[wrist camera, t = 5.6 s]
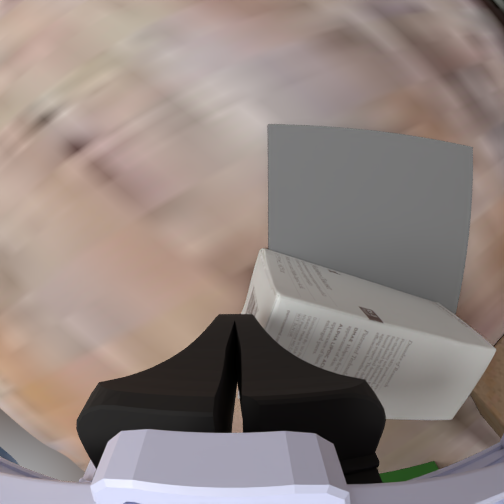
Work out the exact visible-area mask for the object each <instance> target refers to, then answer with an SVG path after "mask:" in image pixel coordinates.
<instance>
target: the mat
mask: <svg viewBox="0 0 504 504" xmlns="http://www.w3.org/2000/svg"><path fill="white" fill-rule="evenodd" d="M472 181H473V147H469V146H465V145H460V144H455V143H450V142H445V141H440V140H434V139H429V138H423V137H416V136H410V135H403V134H396V133H389V132H381V131H372V130H363V129H352V128H341V127H327V126H310V125H285V124H268V249H269V250H272V251H275V252H278V253H281V254H285V255H288V256H291V257H294V258H297V259H300V260H304V261H306V262H310V263H313V264H316V265H319V266H322V267H326V268H329V269H332V270H335V271H338V272H342V273H345V274H348V275H352V276H355V277H358V278H361V279H364V280H367V281H370V282H374V283H377V284H380V285H383V286H386V287H389V288H392V289H395V290H398V291H401V292H405V293H408V294H411V295H414V296H417V297H420V298H423V299H427V300H430V301H433V302H438V303H440V304H441V305H442V306H444V307H445V308H446V309H448V310H449V311H451V312H452V313H453V314H456V309H457V305H458V300H459V295H460V290H461V285H462V279H463V273H464V267H465V261H466V254H467V246H468V238H469V228H470V217H471V203H472Z"/></svg>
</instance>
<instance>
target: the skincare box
mask: <svg viewBox="0 0 504 504" xmlns="http://www.w3.org/2000/svg"><path fill="white" fill-rule="evenodd" d="M241 314H253V315H254V316H255V318H256V319H257V321H258V322H259V323H260V325H261V326H262V327H263V328H264V330H265V331H266V332H267V333H268V334H269V335H270V336H271V337H272V338H273V339H274V340H275V341H276V342H277V343H278V344H279V345H281V346H282V347H283V348H285V349H286V350H287V351H289V352H290V353H292V354H293V355H295V356H297V357H298V358H300V359H302V360H304V361H306V362H308V363H310V364H312V365H314V366H317V367H319V368H322V369H324V370H327V371H331V372H334V373H337V374H340V375H345V376H350V377H355V378H360V379H365V380H366V381H367V383H368V384H369V385H370V387H371V388H372V389H373V391H374V392H375V394H376V395H377V397H378V399H379V400H380V402H381V404H382V406H383V407H384V410H385V415H386V419H400V420H452V419H453V417H454V416H455V414H456V413H457V411H458V410H459V409H460V407H461V406H462V405H463V403H464V402H465V401H466V399H467V398H468V396H469V395H470V393H471V392H472V390H473V389H474V387H475V386H476V384H477V382H478V381H479V379H480V378H481V376H482V375H483V373H484V371H485V370H486V368H487V366H488V365H489V363H490V361H491V359H492V358H493V356H494V354H495V352H496V348H495V347H493V346H492V345H491V344H490V343H489V342H488V341H487V340H486V339H484V338H483V337H482V336H481V335H480V334H478V333H477V332H476V331H475V330H474V329H472V328H471V327H470V326H469V325H467V324H466V323H465V322H464V321H462V320H461V319H460V318H459V317H457V316H456V315H455V314H453V313H452V312H451V311H449V310H448V309H446V308H445V307H444V306H442V305H441V304H440V303H438V302H433V301H430V300H427V299H423V298H420V297H417V296H414V295H411V294H408V293H405V292H401V291H398V290H395V289H392V288H389V287H386V286H383V285H380V284H377V283H374V282H370V281H367V280H364V279H361V278H358V277H355V276H352V275H348V274H345V273H342V272H338V271H335V270H332V269H329V268H326V267H322V266H319V265H316V264H313V263H310V262H306V261H304V260H300V259H297V258H294V257H291V256H288V255H285V254H281V253H278V252H275V251H272V250H269V249H264V248H262V249H260V251H259V254H258V257H257V261H256V264H255V267H254V271H253V274H252V278H251V282H250V286H249V290H248V294H247V298H246V302H245V305H244V308H243V310H242V312H241ZM238 398H239V399H240V397H239V390H238Z"/></svg>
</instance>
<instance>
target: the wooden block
mask: <svg viewBox="0 0 504 504" xmlns="http://www.w3.org/2000/svg"><path fill="white" fill-rule="evenodd" d="M494 347H495V348H496V352H495V354H494V356H493V358H492V359H491V361H490V363H489V365H488V366H487V368H486V370H485V371H484V373H483V375H482V376H481V378H480V379H479V381H478V382H477V384H476V386H475V387H474V389H473V390H472V392H471V393H470V394H471V396H472V398H473V400H474V402H475V404H476V406H477V408H478V410H479V412H480V414H481V415H482V416H483V418H484V419H485V420H486V421H487V422H488V424H489V425H490V426H491V427H492V428H493V429H494V431H495V432H496V433H497V434H498V435H499V437H500V438H502V436H503V434H504V335H503V337H502V338H501V339H500V340H499V341H498V342H497V343H496V345H495V346H494Z"/></svg>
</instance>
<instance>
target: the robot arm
mask: <svg viewBox="0 0 504 504" xmlns="http://www.w3.org/2000/svg"><path fill="white" fill-rule="evenodd" d="M237 382H238V390H239V397H240V404H241V411H242V418H243V433H232V421H233V413H234V405H235V397H236V388H237ZM385 421H386V415H385V410H384V407H383V406H382V404H381V402H380V400H379V399H378V397H377V395H376V394H375V392H374V391H373V389H372V388H371V387H370V385H369V384H368V383H367V381H366V380H365V379H360V378H355V377H350V376H345V375H340V374H337V373H334V372H331V371H327V370H324V369H322V368H319V367H317V366H314V365H312V364H310V363H308V362H306V361H304V360H302V359H300V358H298V357H297V356H295V355H293V354H292V353H290V352H289V351H287V350H286V349H285V348H283V347H282V346H281V345H279V344H278V343H277V342H276V341H275V340H274V339H273V338H272V337H271V336H270V335H269V334H268V333H267V332H266V331H265V330H264V328H263V327H262V326H261V325H260V323H259V322H258V321H257V319H256V318H255V316H254V315H253V314H219V315H218V316H217V317H216V318H215V319H214V320H213V322H212V323H211V324H210V325H209V326H208V328H207V329H206V330H205V331H204V332H203V333H202V334H201V335H200V336H199V337H198V338H197V339H196V340H195V341H194V342H192V343H191V344H190V345H189V346H188V347H187V348H185V349H184V350H182V351H181V352H180V353H178V354H176V355H175V356H173V357H172V358H170V359H168V360H166V361H164V362H162V363H160V364H158V365H156V366H154V367H152V368H150V369H147V370H145V371H142V372H139V373H136V374H133V375H130V376H126V377H123V378H118V379H113V380H109V381H104V382H99V383H98V385H97V386H96V388H95V389H94V391H93V392H92V393H91V395H90V397H89V399H88V401H87V402H86V404H85V406H84V408H83V410H82V411H81V413H80V415H79V417H78V419H77V427H76V429H77V432H78V435H79V438H80V440H81V442H82V444H83V446H84V448H85V450H86V452H87V454H88V455H89V457H90V459H91V460H90V462H89V464H88V467H87V469H86V471H85V474H84V476H83V478H80V480H79V482H69V481H60V480H57V479H54V478H51V477H48V476H45V475H42V474H39V473H37V472H34V471H32V470H29V469H27V468H24V467H22V466H19V465H17V464H14V463H12V462H10V461H8V460H5V459H3V458H1V457H0V504H504V434H503V436H502V438H501V440H500V442H499V443H497V444H495V445H493V446H491V447H489V448H487V449H485V450H483V451H481V452H479V453H477V454H475V455H472V456H470V457H468V458H466V459H463V460H461V461H459V462H456V463H454V464H452V465H449V466H447V467H444V468H442V469H439V470H436V471H434V472H431V473H428V474H425V475H423V476H420V477H417V478H414V479H411V480H407V481H402V482H390V483H383V482H382V480H381V477H380V475H379V473H378V470H377V467H378V466H379V460H378V458H377V455H376V453H375V451H376V448H377V446H378V443H379V440H380V438H381V435H382V432H383V429H384V426H385Z"/></svg>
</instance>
